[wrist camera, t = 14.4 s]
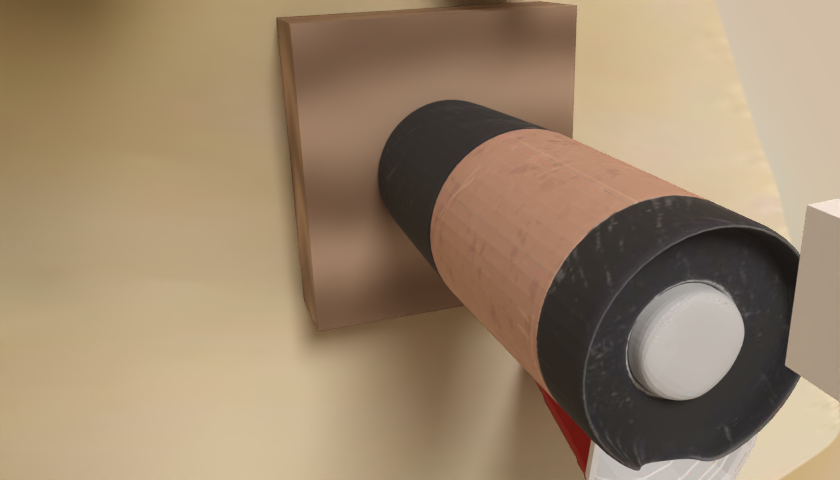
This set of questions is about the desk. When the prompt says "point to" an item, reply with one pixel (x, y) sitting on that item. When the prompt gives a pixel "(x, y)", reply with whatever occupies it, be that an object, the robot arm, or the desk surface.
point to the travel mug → (601, 280)
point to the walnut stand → (380, 114)
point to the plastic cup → (664, 476)
